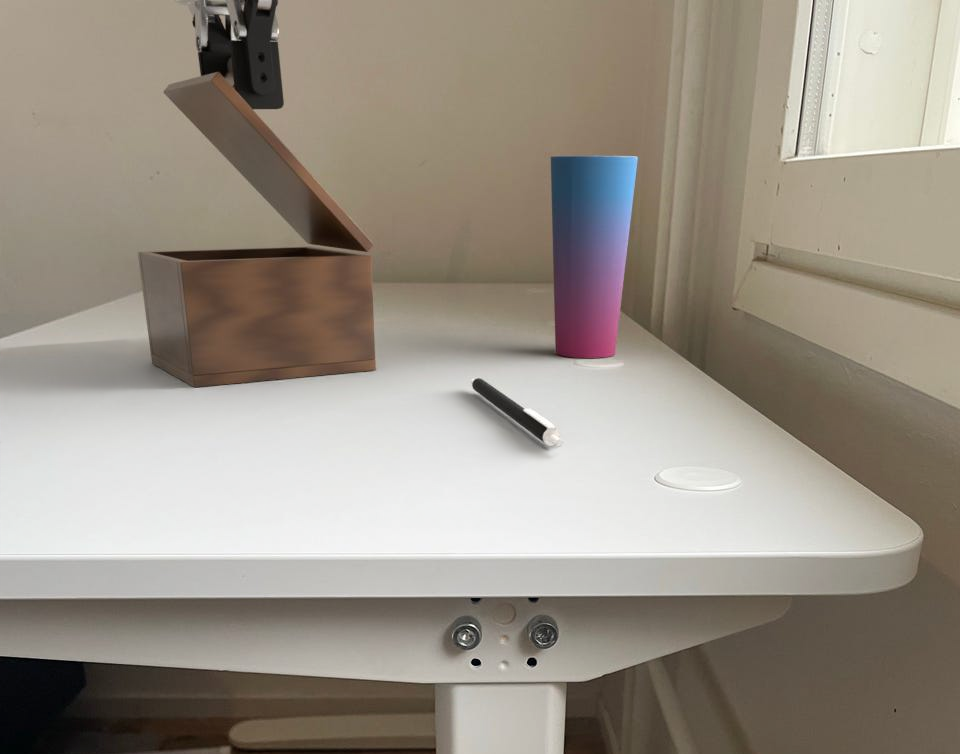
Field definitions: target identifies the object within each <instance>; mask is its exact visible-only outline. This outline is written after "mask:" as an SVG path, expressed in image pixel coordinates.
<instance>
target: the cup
mask: <svg viewBox="0 0 960 754" xmlns="http://www.w3.org/2000/svg"><path fill="white" fill-rule="evenodd" d="M638 160H639V157H638V156H631V155H552V156H550V183H551V184H550V185H551V186H550V187H551V188H550V189H551V192H550V193H551V222H552V223H551V224H552V225H551V227H552V231H551V232H552V264H553V265H552V268H553V303H554V304H553V305H554V307H553V309H554V347H555V351H554V352H555V354H556V355H558V356H561V357H567V358H576V359H577V358H578V359H600V358H608V357H613V356H614V355H615V354H616V350H617V349H616V348H617V340H618V331H619V322H620V315H621V305H622V297H623V289H624V280H625V273H626V272H625V271H626V264H627V263H626V262H627V255H628V246H629V245H628V244H629V237H630V230H631V229H630V228H631V219H632V211H633V204H634V203H633V202H634V193H635V185H636V177H637V169H638V168H637V167H638Z"/></svg>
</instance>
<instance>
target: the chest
mask: <svg viewBox="0 0 960 754" xmlns="http://www.w3.org/2000/svg"><path fill="white" fill-rule="evenodd" d="M137 256H138V265H139V274H140V280H141V281H140V283H141V288H142V289H141V290H142V296H143V297H142V298H143V304H144V311H145V320H146V327H147V337H148V344H149V352H150V359H151V364H152V365H154V366H156V367H158V368H159V369H161V370H162V371H165V372H167V373H168V374H170V375H172V376H173V377H175V378H177V379H178V380H180V381H183V382H185V383H186V384H188V385H189V386H192V387H193V388H203V387H214V386H223V385H233V384H234V385H235V384H244V383H245V384H246V383H255V382H265V381H276V380H277V381H278V380H286V379H296V378H307V377H308V378H309V377H318V376H330V375H339V374H350V373H359V372H362V373H363V372H371V371H376V370H377V363H376V361H377V360H376V342H375V341H376V340H375V338H376V337H375V316H374V315H375V314H374V290H373V266H372V265H373V264H372V263H373V262H372V261H373V259H372V255H371V254H366V253H360V252H353V251H345V250H337V249H332V248H331V249H330V248H323V247H317V246H283V247H282V246H281V247H255V248H254V247H251V248H247V247H246V248H221V249H219V248H218V249H217V248H216V249H187V250H185V249H183V250H155V251H153V250H152V251H138V252H137Z"/></svg>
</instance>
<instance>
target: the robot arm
mask: <svg viewBox="0 0 960 754" xmlns="http://www.w3.org/2000/svg"><path fill="white" fill-rule="evenodd" d="M175 2H176V3H177V4H178V5H179V6H188V9H189V12H190V14H191V16H192V21H191V22H192V27H193V28H194V29H195V31H194V33H195V34H194V35H195V47H196V51H197V56H198V66H199V73H200V76H204V75H207V74H211V73H215V72H219V73H220V74H221V75H222V76H223V77H224V76H225V75H226V74H227V72H228V68H227V63H228V60H229V58H230V57H231V60H232V69H233V78H234V85H233V86H232V87H233V88H234V87H235V90H236V91H237V93H238V94H239V95H240V96H241V97H242V98H243V99H244V100H245V101H246V102H247V104H248V105H249V106H250V107H251V108H252V109H253V110H281V109H282V108H283V107H284V105H285V104H284V103H285V101H284V100H285V99H284V91H283V80H282V79H283V78H282V71H281V60H280V59H281V58H280V51H279V50H280V49H279V42H278V40H279V36H280V29H279V24H278V20H277V19H278V18H277V16H276V11H277V7H278V4H279V0H225V1H220V0H219V1H218V0H175ZM221 16H224V23H223V21H222V18H221Z"/></svg>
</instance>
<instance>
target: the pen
mask: <svg viewBox="0 0 960 754" xmlns="http://www.w3.org/2000/svg"><path fill="white" fill-rule="evenodd" d="M470 382H471V387H472V389H473V390H474V391H475V392H476V393H478V394H479V395H481V396H482V397H483V398H484V399H486V400H487V401H488V402H489V403H491V404H492V405H494V406H495V407H496V408H497V409H499V410H500V411H502V412H503V413H504V414H506V416H508V417H510V419H512V420H514V421H515V422H516V423H517V424H519V425H520V426H521V427H523V428H524V429H525V430H527V431H528V432H529V433H531V434H532V435H534V436H535V438H537V439H539V440H540V441H542V442H543V443H544V444H546V445H547V446H550V447H552V446H556V447H558V448H560V447H562V446H563V441H562V439H560V433H559V432H558V431H557V427H556V426H555V425H554V424H553V423H552V422H550V421H549V420H547V419H546V418H545V417H543V416H542V415H541V414H539V413H538V412H536V411H534V410H533V409H531V408H525V407H524V406H521V405H520V404H518V403H517V402H515V401H514V400H513V399H511V398H510V397H508V396H507V395H506V394H504V393H503V392H501V391H500V390H499V389H497V388H495V387H494V385H491V384H490V383H489V382H487V381H485V380H484V379H483V378H480V377H475V378H472V379H471V380H470Z"/></svg>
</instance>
